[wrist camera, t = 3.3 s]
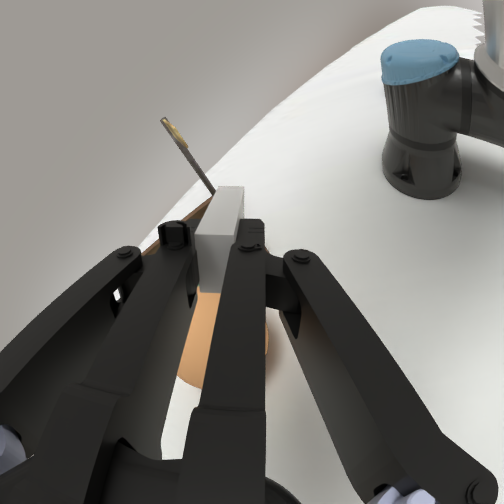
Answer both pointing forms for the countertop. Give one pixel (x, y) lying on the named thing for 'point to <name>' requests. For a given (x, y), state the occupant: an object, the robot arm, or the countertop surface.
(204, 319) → the ball
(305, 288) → the robot arm
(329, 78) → the countertop surface
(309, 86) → the countertop surface
